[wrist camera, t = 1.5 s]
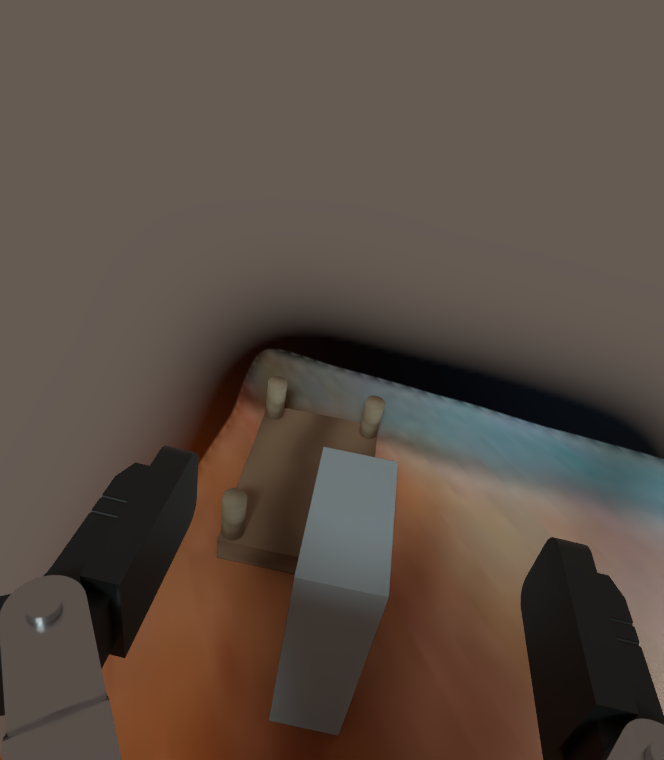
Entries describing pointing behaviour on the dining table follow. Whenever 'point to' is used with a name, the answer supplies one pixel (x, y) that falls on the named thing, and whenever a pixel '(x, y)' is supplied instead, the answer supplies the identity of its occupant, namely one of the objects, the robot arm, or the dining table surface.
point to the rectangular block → (336, 590)
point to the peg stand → (285, 479)
